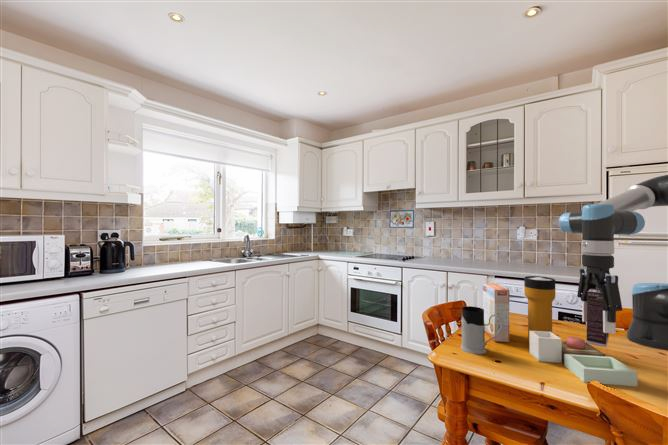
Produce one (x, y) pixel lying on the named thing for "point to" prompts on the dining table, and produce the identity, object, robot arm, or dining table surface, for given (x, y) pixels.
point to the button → (575, 343)
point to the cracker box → (496, 311)
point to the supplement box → (595, 319)
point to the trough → (600, 369)
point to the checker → (580, 351)
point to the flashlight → (539, 302)
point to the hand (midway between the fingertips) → (597, 327)
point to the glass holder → (474, 330)
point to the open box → (545, 346)
